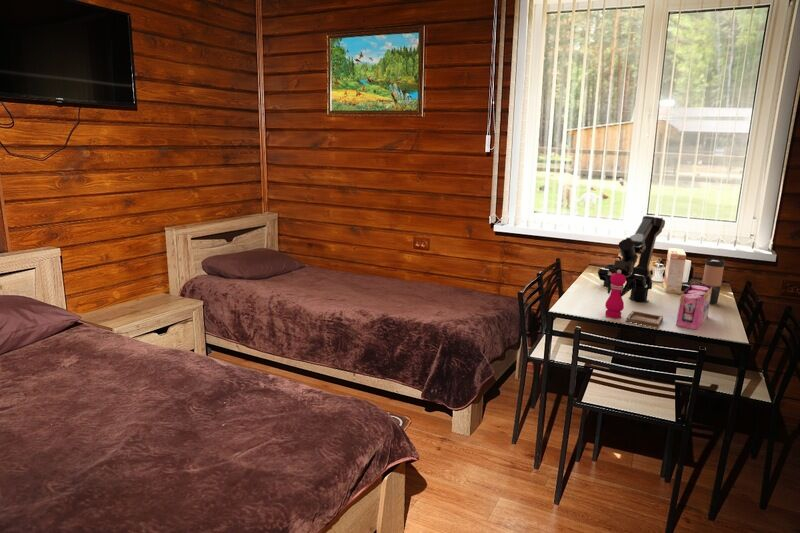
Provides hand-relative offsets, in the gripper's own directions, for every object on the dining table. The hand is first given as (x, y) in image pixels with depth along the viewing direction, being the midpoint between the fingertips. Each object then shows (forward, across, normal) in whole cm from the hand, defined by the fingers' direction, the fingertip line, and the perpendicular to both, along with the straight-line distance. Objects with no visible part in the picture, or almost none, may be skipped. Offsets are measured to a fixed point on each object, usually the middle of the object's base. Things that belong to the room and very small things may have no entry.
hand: (614, 294), depth 230 cm
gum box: (-6, +26, +20) cm, 34 cm away
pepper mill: (+6, 0, +8) cm, 10 cm away
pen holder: (-29, -18, +43) cm, 54 cm away
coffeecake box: (-40, +6, +54) cm, 67 cm away
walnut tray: (+4, +12, +9) cm, 16 cm away
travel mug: (-32, +25, +46) cm, 61 cm away
